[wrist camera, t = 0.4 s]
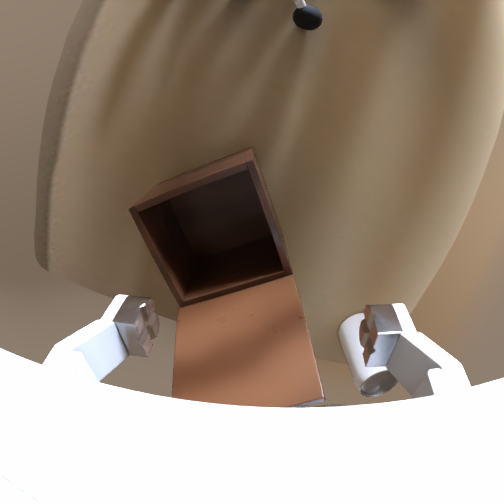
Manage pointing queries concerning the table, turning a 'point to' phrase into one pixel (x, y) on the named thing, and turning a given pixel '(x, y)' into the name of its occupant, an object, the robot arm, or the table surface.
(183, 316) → the lid
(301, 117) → the table surface
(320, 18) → the molecular model
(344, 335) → the can
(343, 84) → the table surface
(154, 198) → the box
